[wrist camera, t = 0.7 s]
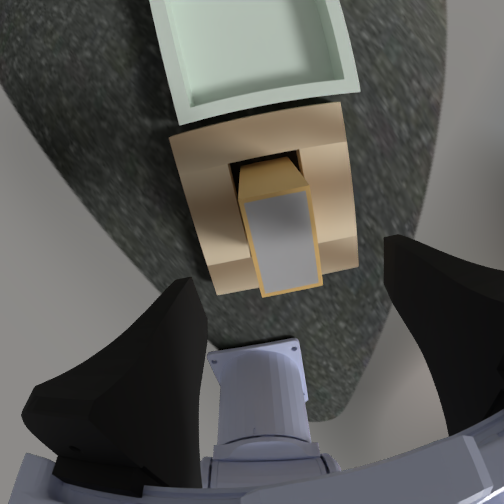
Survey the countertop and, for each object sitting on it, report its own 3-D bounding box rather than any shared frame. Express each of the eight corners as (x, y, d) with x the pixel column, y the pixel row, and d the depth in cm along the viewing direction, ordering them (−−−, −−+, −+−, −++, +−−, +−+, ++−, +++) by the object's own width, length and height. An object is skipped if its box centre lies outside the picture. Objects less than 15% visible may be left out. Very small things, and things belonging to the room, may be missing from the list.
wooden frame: (352, 256, 22) (358, 266, 21) (218, 283, 23) (217, 295, 21) (333, 102, 17) (340, 102, 16) (174, 134, 18) (168, 137, 16)
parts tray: (346, 92, 17) (360, 92, 14) (187, 122, 17) (179, 125, 15) (310, -42, 12) (319, -57, 10) (155, -14, 13) (143, -26, 11)
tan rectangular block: (300, 228, 21) (323, 285, 15) (256, 237, 21) (262, 297, 15) (287, 156, 19) (309, 185, 12) (240, 166, 19) (238, 199, 13)
